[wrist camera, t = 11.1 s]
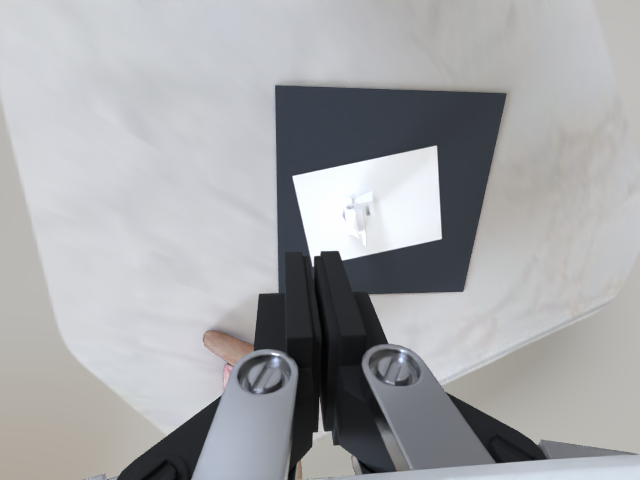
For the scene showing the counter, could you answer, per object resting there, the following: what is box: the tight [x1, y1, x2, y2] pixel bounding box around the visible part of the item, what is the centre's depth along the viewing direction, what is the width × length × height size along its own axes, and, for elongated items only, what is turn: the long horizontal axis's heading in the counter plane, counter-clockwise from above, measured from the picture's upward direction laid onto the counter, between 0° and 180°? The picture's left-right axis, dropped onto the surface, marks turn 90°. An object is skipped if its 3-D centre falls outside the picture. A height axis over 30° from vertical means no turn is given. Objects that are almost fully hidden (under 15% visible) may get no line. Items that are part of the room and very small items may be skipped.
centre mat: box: [275, 86, 507, 294], centre depth 25 cm, size 15×15×1 cm
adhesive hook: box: [340, 190, 376, 247], centre depth 24 cm, size 3×3×3 cm
